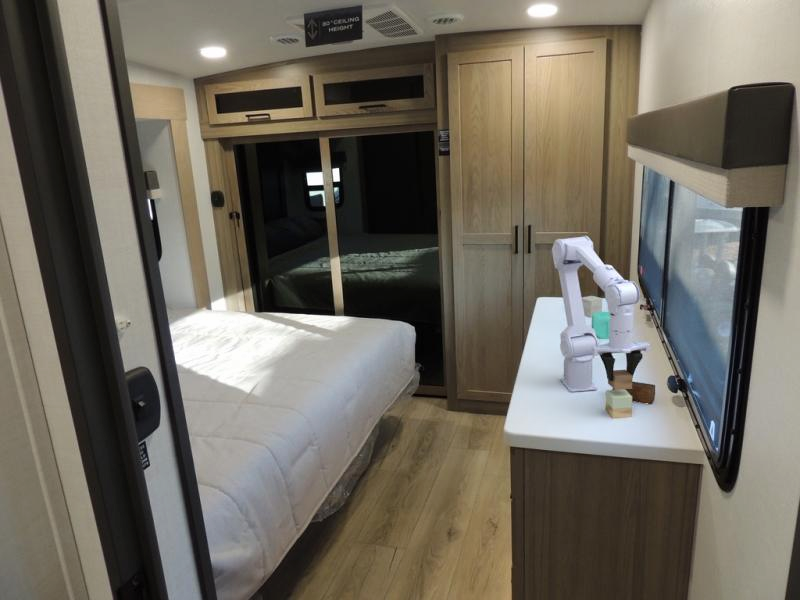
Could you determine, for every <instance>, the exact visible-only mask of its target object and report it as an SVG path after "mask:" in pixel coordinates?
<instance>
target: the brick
mask: <svg viewBox="0 0 800 600" xmlns="http://www.w3.org/2000/svg"><path fill="white" fill-rule="evenodd" d="M611 390H614V389H613V388H612V389H611ZM625 390H626V391H627V392H628V393H629V394H630V395H631V396H632V402H634V401H635V402H636V403H639V402H640V403H639V404H645V403H648V404H647V405H653V403H654V401H655V399H656V398H655V397H656V384H651V383H645V382H638V381H632V389H625Z"/></svg>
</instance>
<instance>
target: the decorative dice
mask: <svg viewBox="0 0 800 600" xmlns="http://www.w3.org/2000/svg"><path fill="white" fill-rule="evenodd" d="M609 324H610V312H608V311H602V312H596V313H594V314H593V315H592V318H591V327H592V328H593V329H594V330H595V334H596V337H597V339H600V340H601V339H602V340H605V339H606V340H609Z"/></svg>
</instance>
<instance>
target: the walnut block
mask: <svg viewBox="0 0 800 600" xmlns="http://www.w3.org/2000/svg"><path fill="white" fill-rule="evenodd" d="M633 378H634V375H633V376H632V375H631V374H630V373H629V372H627V371H626V369H615V370H614V369H613V381H610V380H608V379H607V384H608V385H609V386H610V387H611V388H612V389H614V390H619V389H632V382H633V380H634V379H633Z"/></svg>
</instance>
